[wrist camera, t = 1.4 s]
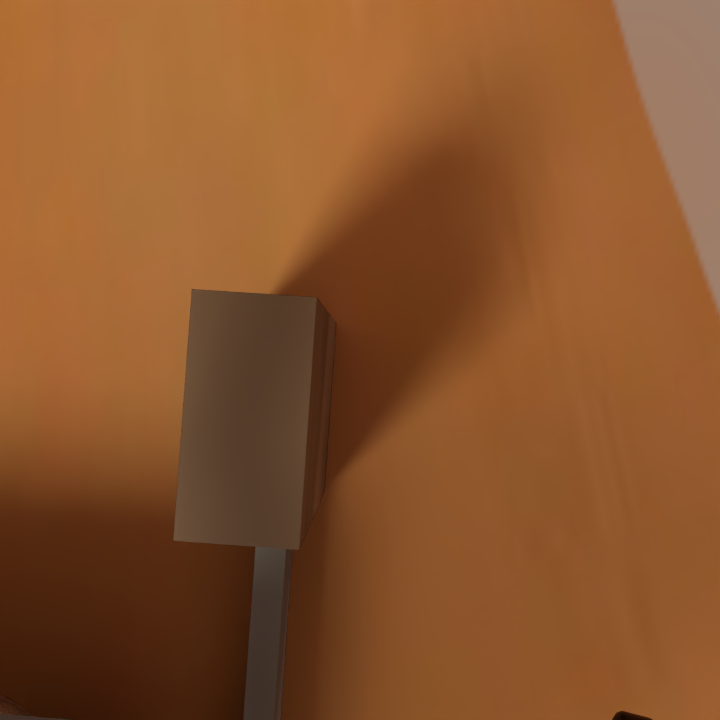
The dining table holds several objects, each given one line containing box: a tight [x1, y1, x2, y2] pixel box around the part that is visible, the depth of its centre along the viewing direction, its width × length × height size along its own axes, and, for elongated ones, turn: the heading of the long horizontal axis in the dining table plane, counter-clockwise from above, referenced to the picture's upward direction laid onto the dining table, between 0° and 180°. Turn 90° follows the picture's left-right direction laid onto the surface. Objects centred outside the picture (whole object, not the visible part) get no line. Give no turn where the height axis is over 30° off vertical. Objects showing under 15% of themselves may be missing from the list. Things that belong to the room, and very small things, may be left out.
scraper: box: [173, 289, 336, 720], centre depth 20 cm, size 3×18×8 cm, turn 176°
